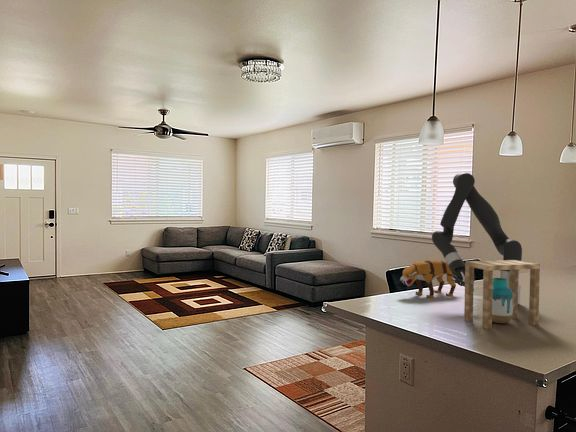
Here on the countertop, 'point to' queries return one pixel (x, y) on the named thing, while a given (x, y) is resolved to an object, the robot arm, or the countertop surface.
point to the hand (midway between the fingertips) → (471, 292)
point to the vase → (501, 301)
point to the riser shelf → (513, 285)
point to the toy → (428, 276)
